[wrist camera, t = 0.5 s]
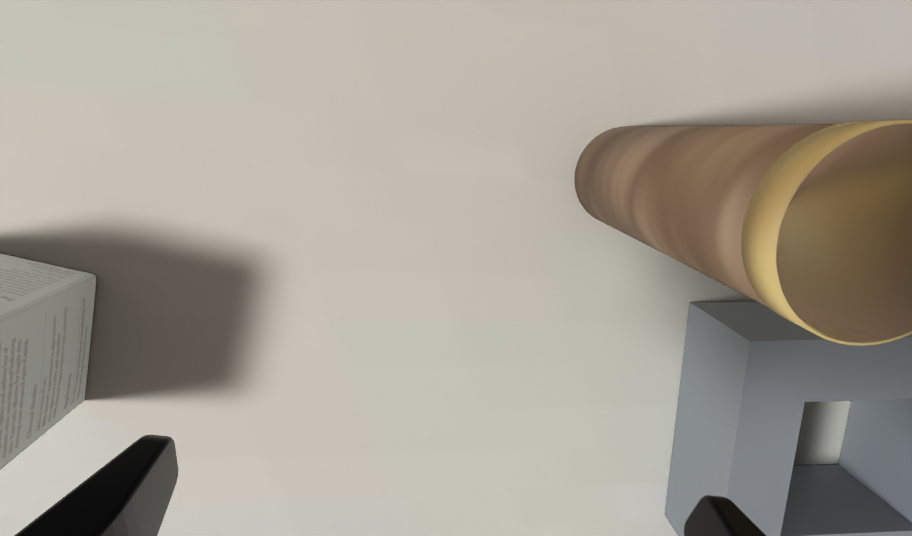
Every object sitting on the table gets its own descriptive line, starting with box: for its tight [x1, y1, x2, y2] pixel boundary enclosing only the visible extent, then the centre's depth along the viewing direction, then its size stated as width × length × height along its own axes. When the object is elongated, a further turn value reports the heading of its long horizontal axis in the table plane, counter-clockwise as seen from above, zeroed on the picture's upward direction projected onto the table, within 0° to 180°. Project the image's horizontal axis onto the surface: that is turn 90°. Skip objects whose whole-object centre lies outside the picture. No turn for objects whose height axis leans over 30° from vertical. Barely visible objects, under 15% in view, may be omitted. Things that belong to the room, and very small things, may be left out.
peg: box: [575, 120, 912, 346], centre depth 16 cm, size 4×4×13 cm
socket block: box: [665, 301, 912, 536], centre depth 23 cm, size 11×11×4 cm
